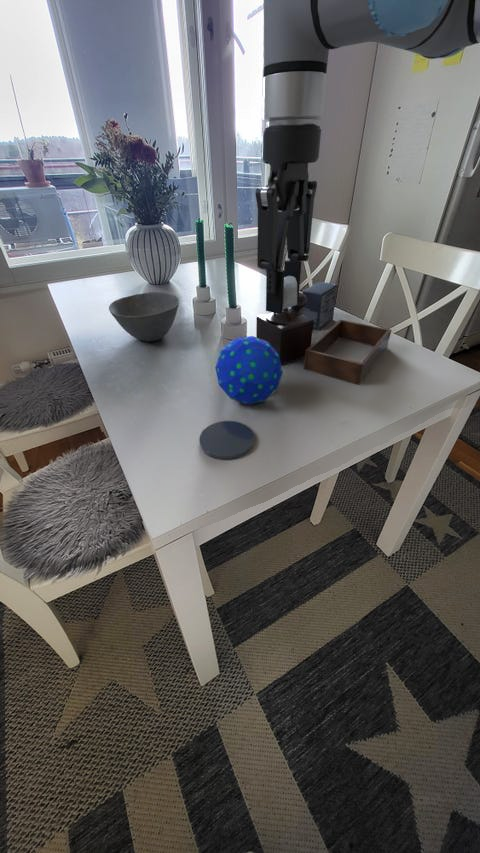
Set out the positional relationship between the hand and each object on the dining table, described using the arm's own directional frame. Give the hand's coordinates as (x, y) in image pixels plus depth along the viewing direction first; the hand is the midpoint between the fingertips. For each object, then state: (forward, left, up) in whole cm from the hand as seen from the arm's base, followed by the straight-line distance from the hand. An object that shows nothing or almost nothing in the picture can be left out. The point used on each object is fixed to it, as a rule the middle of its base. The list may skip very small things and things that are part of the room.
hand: (282, 306), depth 59 cm
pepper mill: (+8, -21, -21) cm, 30 cm away
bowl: (+47, -11, -21) cm, 53 cm away
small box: (+11, -45, -21) cm, 50 cm away
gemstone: (0, 0, 0) cm, 1 cm away
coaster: (+2, +14, -21) cm, 25 cm away
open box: (-5, -28, -21) cm, 35 cm away
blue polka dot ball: (+7, -1, -21) cm, 22 cm away
